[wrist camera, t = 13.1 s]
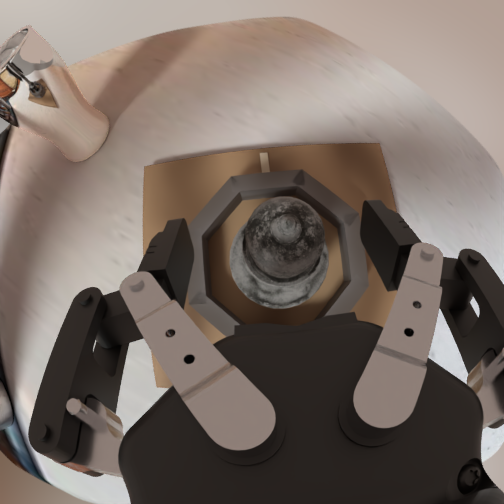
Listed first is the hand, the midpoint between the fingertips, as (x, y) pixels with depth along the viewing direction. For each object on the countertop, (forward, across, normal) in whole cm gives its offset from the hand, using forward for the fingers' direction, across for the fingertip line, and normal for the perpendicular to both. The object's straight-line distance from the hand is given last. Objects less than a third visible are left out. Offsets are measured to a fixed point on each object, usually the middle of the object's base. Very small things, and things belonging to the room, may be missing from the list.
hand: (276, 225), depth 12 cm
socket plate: (+6, 0, +7) cm, 9 cm away
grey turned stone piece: (+5, 0, +6) cm, 8 cm away
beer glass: (+16, +18, -4) cm, 25 cm away
